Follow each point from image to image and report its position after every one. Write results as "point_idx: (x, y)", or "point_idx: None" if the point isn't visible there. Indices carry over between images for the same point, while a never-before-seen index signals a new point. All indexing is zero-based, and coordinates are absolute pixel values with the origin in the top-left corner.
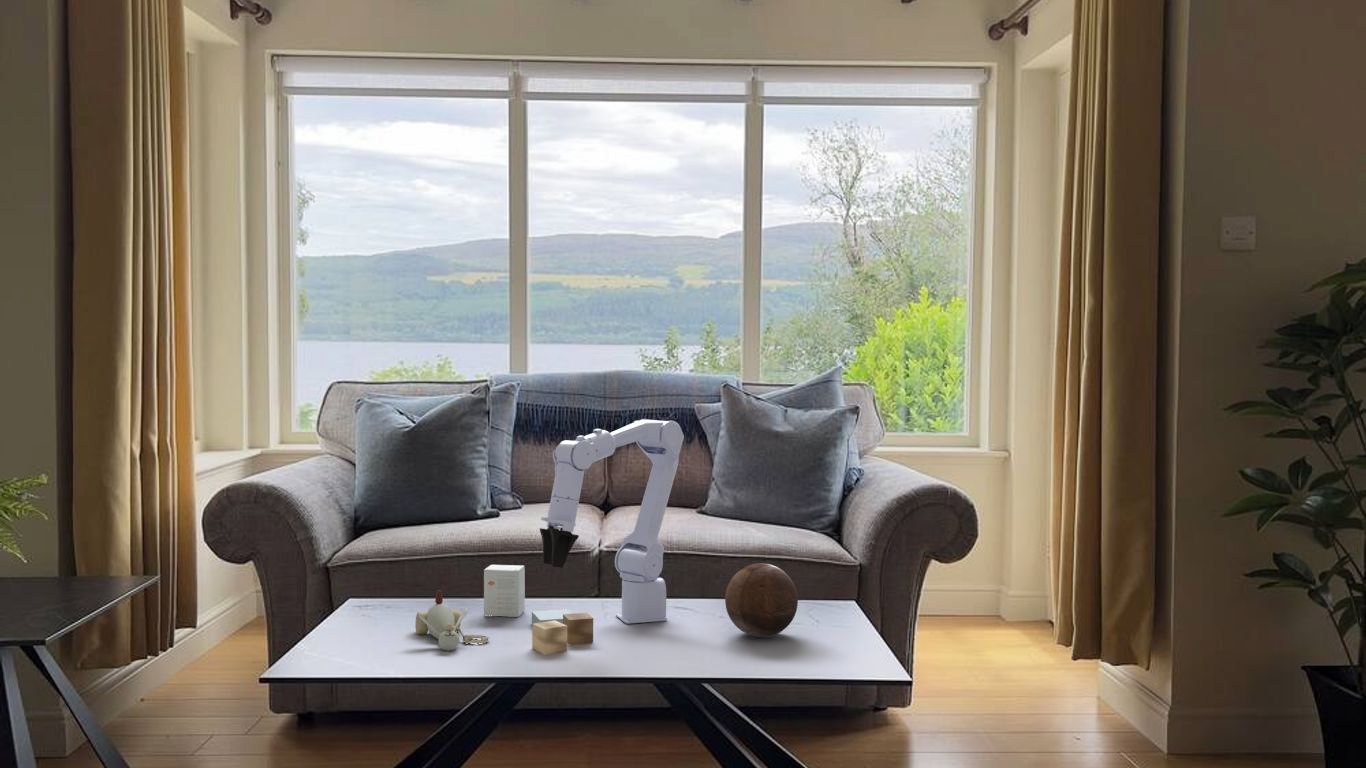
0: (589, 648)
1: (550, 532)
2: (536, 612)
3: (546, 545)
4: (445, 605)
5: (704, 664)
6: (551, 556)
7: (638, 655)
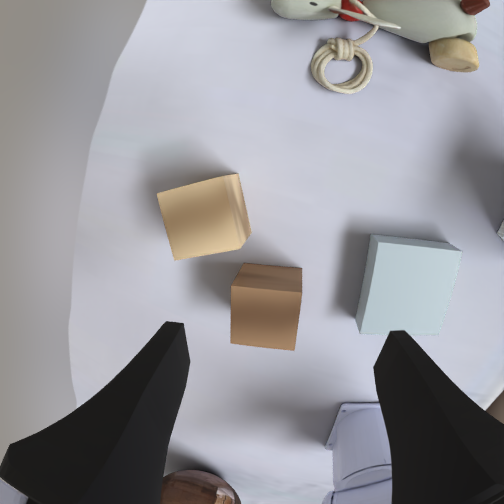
0: (200, 291)
1: (75, 490)
2: (450, 259)
3: (430, 414)
4: (454, 15)
5: (97, 383)
6: (390, 388)
7: (140, 343)
